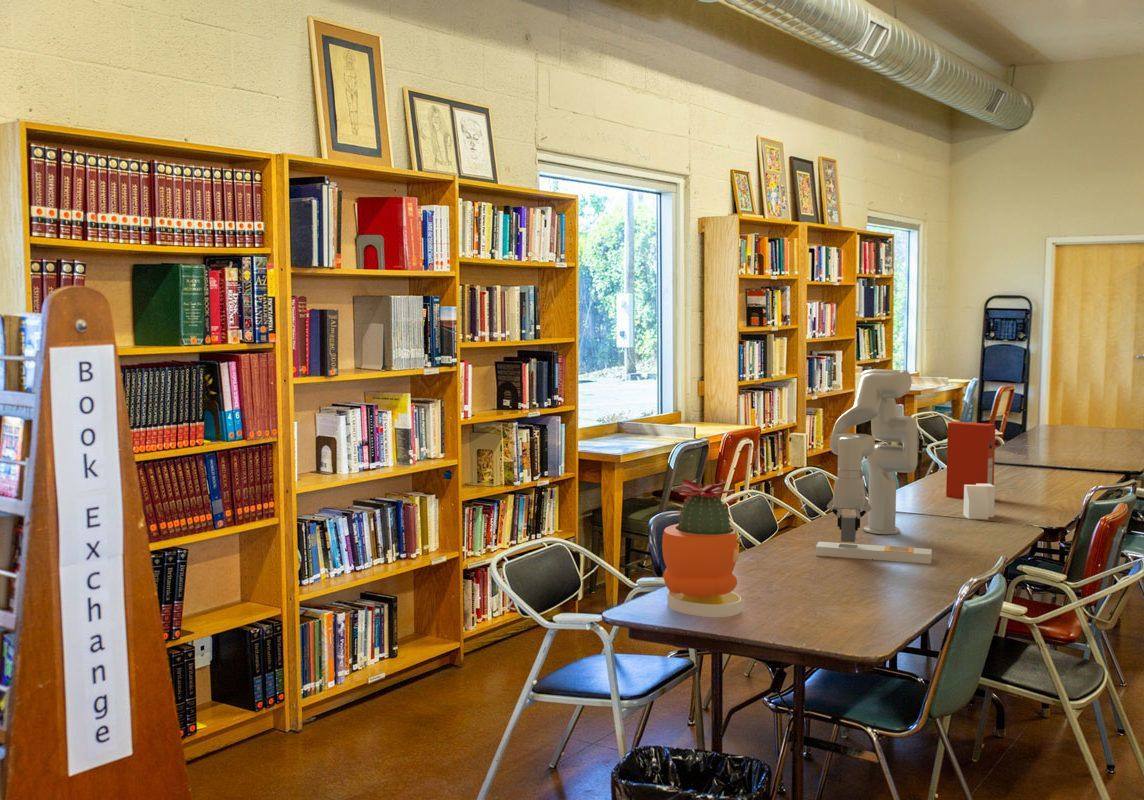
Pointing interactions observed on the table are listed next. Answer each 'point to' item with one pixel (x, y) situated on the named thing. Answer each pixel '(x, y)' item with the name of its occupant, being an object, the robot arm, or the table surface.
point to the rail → (874, 552)
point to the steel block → (848, 528)
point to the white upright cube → (979, 501)
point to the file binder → (969, 456)
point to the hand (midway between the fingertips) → (848, 528)
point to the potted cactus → (701, 555)
